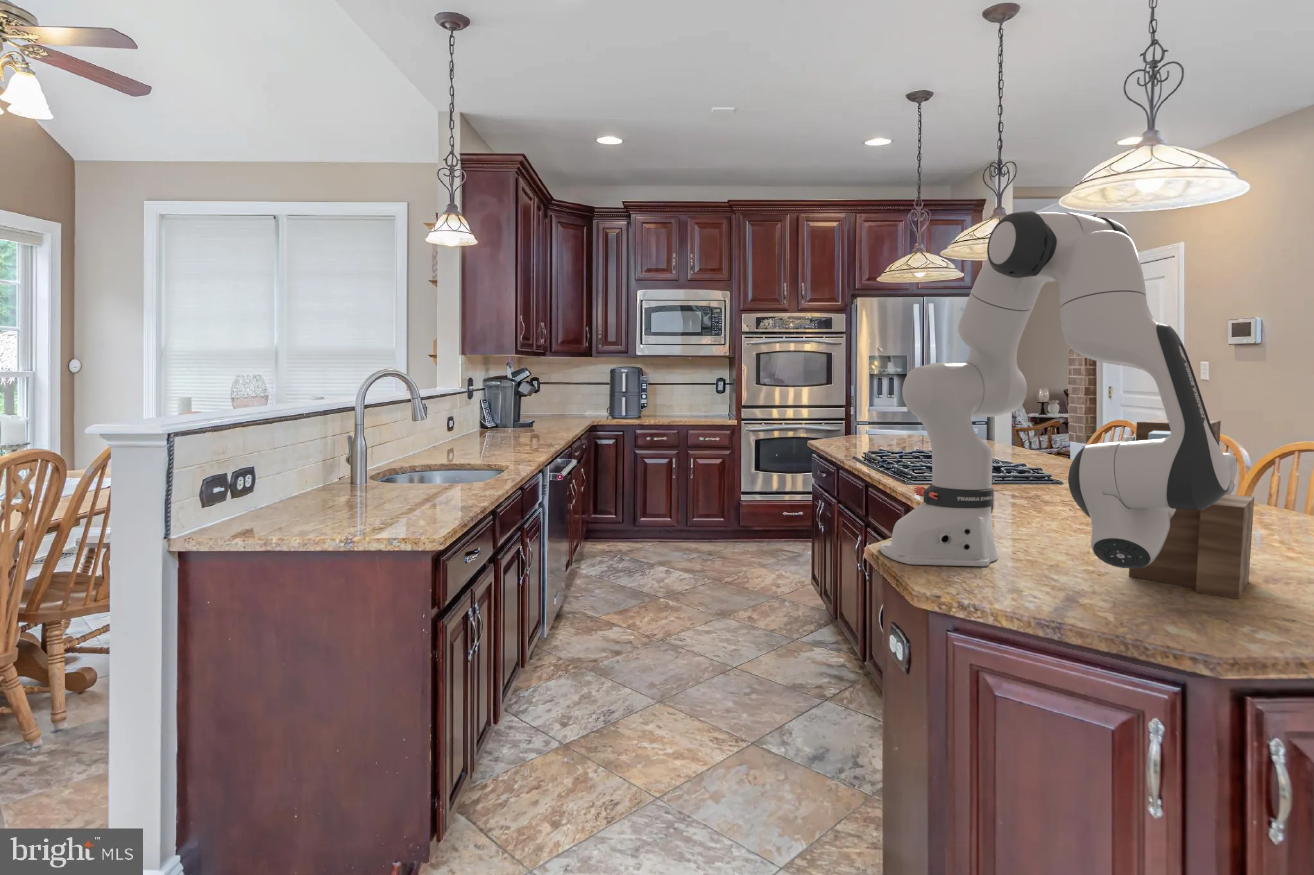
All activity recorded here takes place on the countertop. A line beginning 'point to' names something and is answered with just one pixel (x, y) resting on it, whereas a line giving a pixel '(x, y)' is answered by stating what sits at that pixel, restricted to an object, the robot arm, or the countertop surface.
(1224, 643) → the countertop surface
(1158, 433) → the plug
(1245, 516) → the stand
